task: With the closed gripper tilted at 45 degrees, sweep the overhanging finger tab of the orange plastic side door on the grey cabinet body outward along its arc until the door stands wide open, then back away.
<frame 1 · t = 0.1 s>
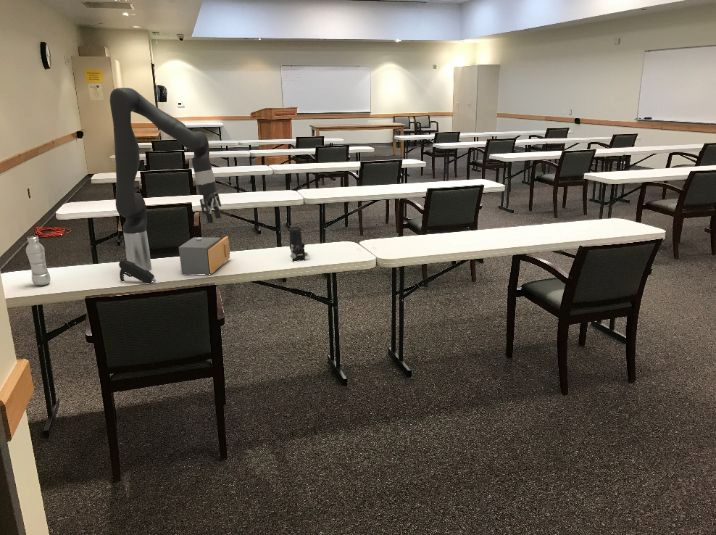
hand: (214, 220, 231), 22 cm above the table, tool pointing down, fingers open, 8 cm apart
scope: (297, 258, 255), on the table
side door: (220, 254, 242), point 6 cm above the table, hinge at 0.0°
grey cabinet body: (202, 269, 242), on the table
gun: (138, 283, 227), on the table
plastic bottle: (42, 285, 226), on the table
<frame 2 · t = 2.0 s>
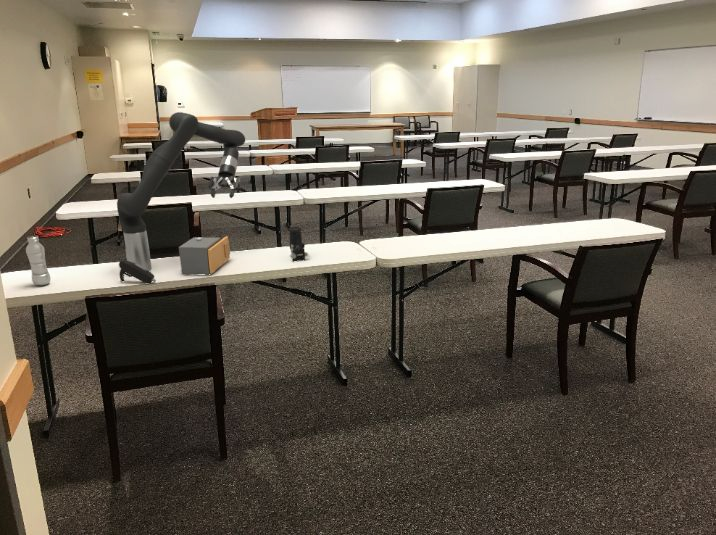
hand: (221, 197, 256), 27 cm above the table, tool tilted 45°, fingers open, 8 cm apart
nothing on the table moved.
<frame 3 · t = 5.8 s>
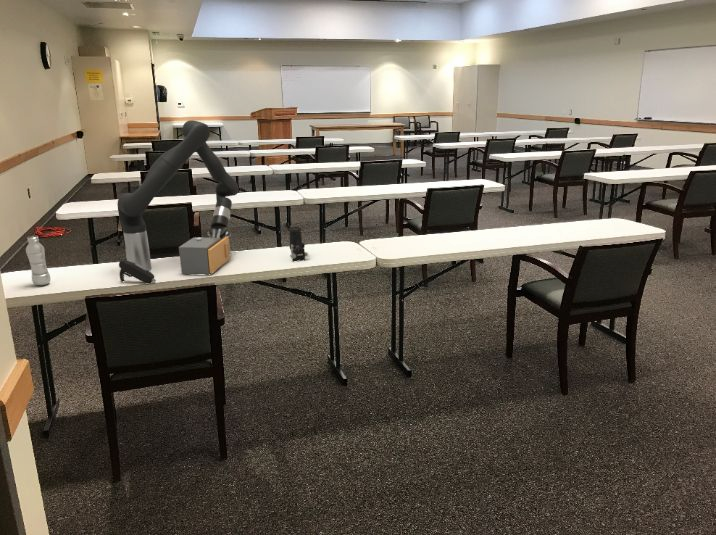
hand: (214, 251, 250), 5 cm above the table, tool tilted 45°, fingers closed
side door: (220, 254, 242), point 6 cm above the table, hinge at 0.5°, touching hand
everything else where it was.
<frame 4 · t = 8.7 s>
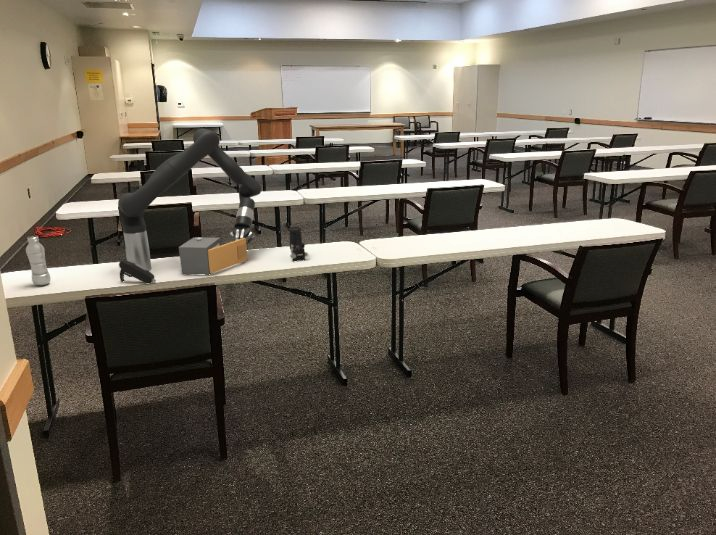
hand: (237, 252, 248), 5 cm above the table, tool tilted 45°, fingers closed
side door: (228, 255, 240), point 6 cm above the table, hinge at 24.3°, touching gripper, hand
everything else where it was.
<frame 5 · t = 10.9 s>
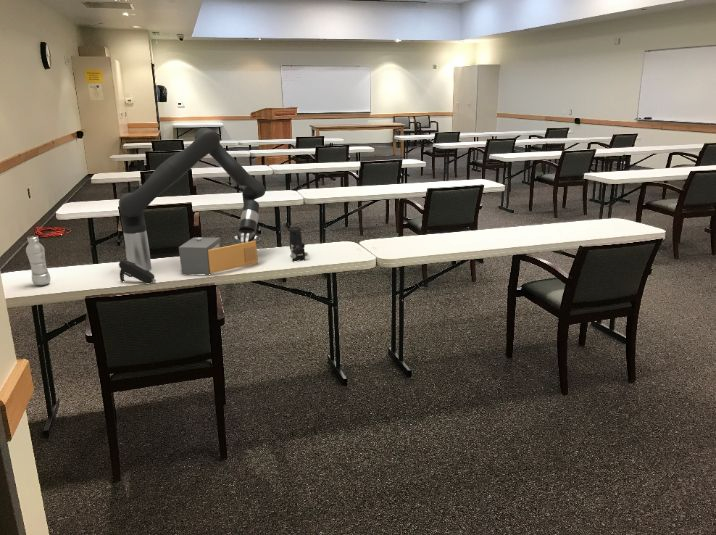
hand: (243, 256, 242), 5 cm above the table, tool tilted 45°, fingers closed
side door: (233, 256, 238), point 6 cm above the table, hinge at 44.2°, touching gripper
everything else where it was.
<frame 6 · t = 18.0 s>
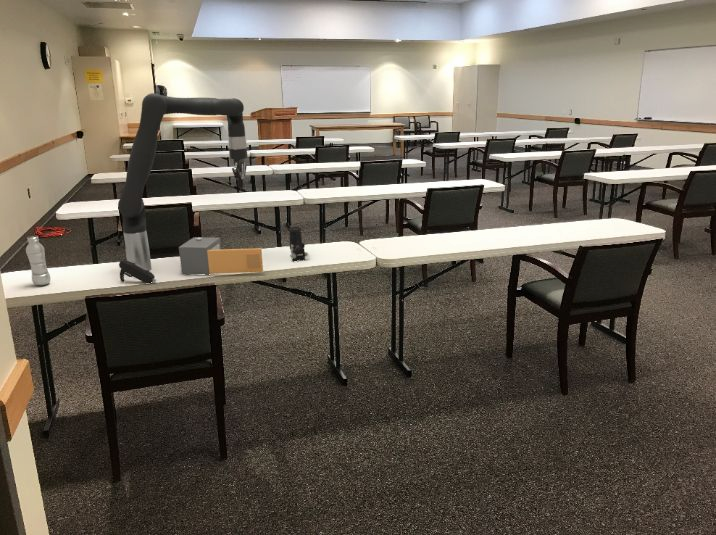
hand: (241, 187, 243), 33 cm above the table, tool pointing down, fingers closed
side door: (235, 261, 232), point 6 cm above the table, hinge at 79.7°
everything else where it was.
at the end: side door at +80° (first picture: +0°); scope moved 0.2 cm from its start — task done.
